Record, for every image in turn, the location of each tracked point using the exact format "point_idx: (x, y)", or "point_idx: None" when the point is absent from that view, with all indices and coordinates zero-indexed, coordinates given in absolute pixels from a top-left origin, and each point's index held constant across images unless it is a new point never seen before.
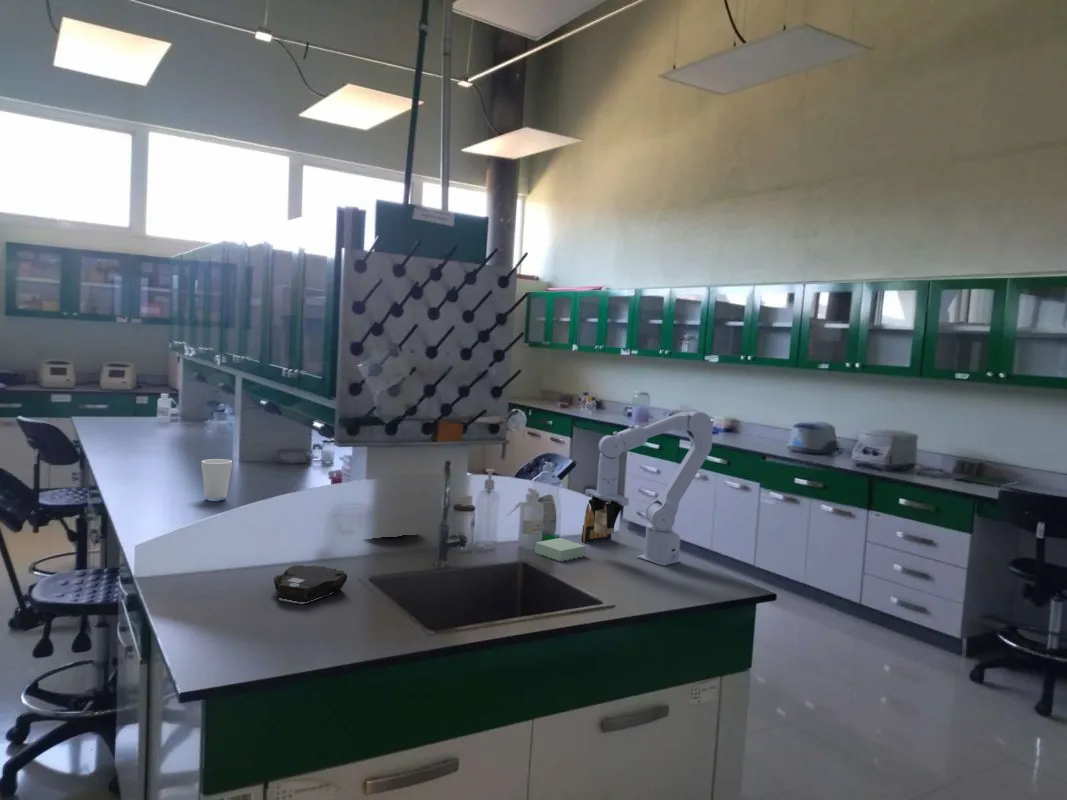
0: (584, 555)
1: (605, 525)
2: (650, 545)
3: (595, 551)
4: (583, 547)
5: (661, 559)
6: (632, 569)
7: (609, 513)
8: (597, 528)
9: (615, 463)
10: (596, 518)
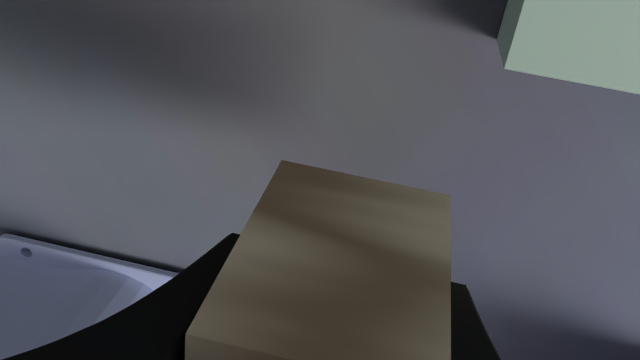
0: (499, 37)
1: (249, 222)
2: (56, 333)
3: (500, 227)
4: (511, 34)
5: (19, 273)
6: (45, 19)
7: (111, 337)
8: (392, 209)
9: None
10: (416, 297)
